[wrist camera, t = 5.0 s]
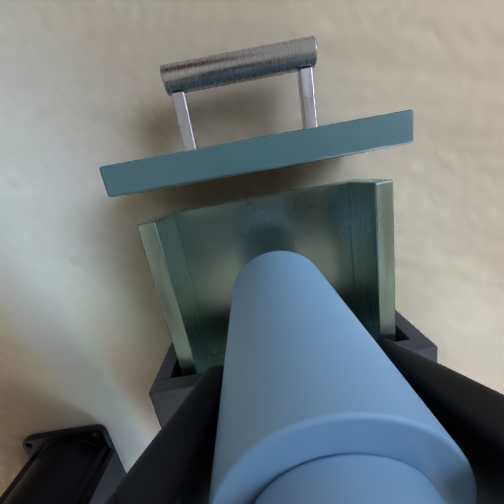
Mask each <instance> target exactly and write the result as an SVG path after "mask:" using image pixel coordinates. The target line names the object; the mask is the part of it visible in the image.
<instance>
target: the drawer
mask: <svg viewBox="0 0 504 504" xmlns="http://www.w3.org/2000/svg"><path fill="white" fill-rule="evenodd" d="M316 61H317V43H316V39H315V37H314V36H310V37H305V38H300V39H295V40H289V41H284V42H279V43H274V44H269V45H264V46H258V47H253V48H248V49H243V50H238V51H233V52H227V53H222V54H217V55H212V56H207V57H201V58H196V59H191V60H186V61H181V62H176V63H170V64H165V65H161V66H160V73H161V77H162V81H163V84H164V87H165V90H166V92H167V93H168V95H169V96H172V99H173V104H174V108H175V112H176V117H177V121H178V125H179V130H180V134H181V138H182V143H183V147H184V151H183V152H178V153H173V154H167V155H162V156H156V157H151V158H145V159H140V160H134V161H129V162H124V163H118V164H113V165H107V166H102V167H100V172H101V175H102V178H103V181H104V184H105V187H106V190H107V193H108V196H109V197H115V196H122V195H129V194H135V193H142V192H149V191H154V190H160V189H165V188H171V187H176V186H182V185H187V184H193V183H199V182H204V181H210V180H215V179H221V178H226V177H232V176H237V175H243V174H248V173H254V172H259V171H265V170H271V169H276V168H282V167H287V166H293V165H298V164H304V163H309V162H315V161H320V160H326V159H331V158H337V157H343V156H348V155H354V154H359V153H365V152H369V151H374V150H379V149H384V148H389V147H394V146H398V145H403V144H408V143H411V142H413V110H406V111H401V112H395V113H390V114H385V115H379V116H374V117H368V118H363V119H357V120H352V121H346V122H341V123H336V124H330V125H325V126H319V127H318V126H317V115H316V104H315V93H314V82H313V71H312V69H313V68H315V66H316ZM293 72H298V74H297V75H298V85H299V94H300V104H301V113H302V123H303V130H298V131H292V132H287V133H281V134H276V135H270V136H265V137H260V138H254V139H249V140H243V141H238V142H232V143H227V144H221V145H216V146H211V147H205V148H200V149H198V147H197V142H196V137H195V133H194V128H193V124H192V119H191V114H190V110H189V105H188V101H187V96H186V94H185V93H188V92H193V91H199V90H204V89H209V88H214V87H220V86H225V85H230V84H235V83H241V82H246V81H251V80H257V79H262V78H267V77H272V76H278V75H283V74H288V73H293ZM137 227H138V230H139V233H140V237H141V240H142V243H143V246H144V250H145V253H146V256H147V260H148V263H149V266H150V269H151V273H152V276H153V279H154V283H155V286H156V289H157V292H158V296H159V299H160V302H161V306H162V309H163V312H164V316H165V319H166V322H167V325H168V329H169V332H170V335H171V339H172V342H173V345H174V348H175V352H176V355H177V358H178V362H179V365H180V368H181V371H182V375H183V376H187V375H193V374H199V373H205V372H206V370H207V369H208V368H209V367H211V366H217V365H223V366H224V362H225V354H226V345H227V336H228V328H229V319H230V310H231V302H232V293H233V286H234V283H235V280H236V278H237V276H238V274H239V272H240V271H241V270H242V268H243V267H244V266H245V265H246V264H247V263H248V262H250V261H251V260H252V259H254V258H256V257H258V256H259V255H262V254H265V253H268V252H272V251H289V252H293V253H297V254H299V255H302V256H304V257H305V258H307V259H309V260H310V261H311V262H312V263H313V264H314V265H315V266H316V267H317V268H318V269H319V271H320V272H321V273H322V275H323V276H324V277H325V278H326V280H327V281H328V282H329V283H330V285H331V286H332V287H333V288H334V290H335V291H336V292H337V294H338V295H339V296H340V297H341V299H342V300H343V301H344V302H345V304H346V305H347V306H348V307H349V309H350V310H351V311H352V312H353V314H354V315H355V316H356V318H357V319H358V320H359V321H360V323H361V324H362V325H363V326H364V328H365V329H366V330H367V331H368V333H369V334H370V335H371V337H372V338H373V339H374V340H377V339H383V338H387V339H389V340H391V341H394V342H395V277H394V211H393V180H383V179H352V180H347V181H341V182H336V183H330V184H324V185H319V186H313V187H308V188H302V189H296V190H291V191H285V192H279V193H274V194H268V195H263V196H257V197H251V198H246V199H240V200H235V201H229V202H223V203H218V204H212V205H206V206H201V207H195V208H190V209H184V210H178V211H173V212H167V213H163V214H161V215H159V216H156V217H154V218H152V219H150V220H147V221H145V222H143V223H141V224H138V225H137Z"/></svg>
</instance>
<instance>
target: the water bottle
mask: <svg viewBox="0 0 504 504" xmlns="http://www.w3.org/2000/svg"><path fill="white" fill-rule="evenodd" d="M476 499H477V488H476V483H475V477H474V474H473V471H472V469H471V467H470V464H469V462H468V460H467V458H466V457H465V455H464V454H463V452H462V451H461V449H460V448H459V447H458V445H457V444H456V443H455V442H454V440H453V439H452V438H451V437H450V435H449V434H448V433H447V431H446V430H445V429H444V428H443V426H442V425H441V424H440V423H439V421H438V420H437V419H436V418H435V416H434V415H433V414H432V413H431V411H430V410H429V409H428V407H427V406H426V405H425V404H424V402H423V401H422V400H421V399H420V397H419V396H418V395H417V394H416V392H415V391H414V390H413V388H412V387H411V386H410V385H409V383H408V382H407V381H406V380H405V378H404V377H403V376H402V375H401V373H400V372H399V371H398V369H397V368H396V367H395V366H394V364H393V363H392V362H391V361H390V359H389V358H388V357H387V356H386V354H385V353H384V352H383V350H382V349H381V348H380V347H379V345H378V344H377V343H376V342H375V340H374V339H373V338H372V337H371V335H370V334H369V333H368V331H367V330H366V329H365V328H364V326H363V325H362V324H361V323H360V321H359V320H358V319H357V318H356V316H355V315H354V314H353V312H352V311H351V310H350V309H349V307H348V306H347V305H346V304H345V302H344V301H343V300H342V299H341V297H340V296H339V295H338V294H337V292H336V291H335V290H334V288H333V287H332V286H331V285H330V283H329V282H328V281H327V280H326V278H325V277H324V276H323V275H322V273H321V272H320V271H319V269H318V268H317V267H316V266H315V265H314V264H313V263H312V262H311V261H310V260H309V259H307V258H305V257H304V256H302V255H299V254H297V253H293V252H289V251H272V252H268V253H265V254H262V255H259V256H258V257H256V258H254V259H252V260H251V261H250V262H248V263H247V264H246V265H245V266H244V267H243V268H242V270H241V271H240V272H239V274H238V276H237V278H236V280H235V283H234V286H233V293H232V302H231V310H230V319H229V328H228V336H227V345H226V354H225V362H224V371H223V380H222V389H221V397H220V406H219V415H218V423H217V432H216V441H215V449H214V458H213V467H212V476H211V484H210V493H209V502H208V504H476Z"/></svg>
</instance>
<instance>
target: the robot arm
mask: <svg viewBox="0 0 504 504" xmlns="http://www.w3.org/2000/svg"><path fill="white" fill-rule="evenodd" d="M375 342H376V343H377V344H378V345H379V347H380V348H381V349H382V350H383V352H384V353H385V354H386V356H387V357H388V358H389V359H390V361H391V362H392V363H393V364H394V366H395V367H396V368H397V369H398V371H399V372H400V373H401V375H402V376H403V377H404V378H405V380H406V381H407V382H408V383H409V385H410V386H411V387H412V388H413V390H414V391H415V392H416V394H417V395H418V396H419V397H420V399H421V400H422V401H423V402H424V404H425V405H426V406H427V407H428V409H429V410H430V411H431V413H432V414H433V415H434V416H435V418H436V419H437V420H438V421H439V423H440V424H441V425H442V426H443V428H444V429H445V430H446V431H447V433H448V434H449V435H450V437H451V438H452V439H453V440H454V442H455V443H456V444H457V445H458V447H459V448H460V449H461V451H462V452H463V454H464V455H465V457H466V458H467V460H468V462H469V464H470V467H471V469H472V471H473V474H474V477H475V483H476V488H477V499H476V504H504V395H503V394H501V393H499V392H497V391H495V390H492V389H490V388H488V387H486V386H484V385H482V384H480V383H478V382H476V381H474V380H472V379H470V378H468V377H466V376H464V375H462V374H459V373H457V372H455V371H453V370H451V369H449V368H447V367H445V366H443V365H441V364H439V363H437V362H435V361H433V360H431V359H429V358H427V357H424V356H422V355H420V354H418V353H416V352H414V351H412V350H410V349H408V348H406V347H404V346H402V345H400V344H398V343H396V342H394V341H391V340H389V339H387V338H383V339H377V340H375ZM223 371H224V366H223V365H217V366H211V367H209V368H208V369H207V370H206V372H205V373H204V374H203V376H202V377H201V378H200V379H199V381H198V382H197V383H196V385H195V386H194V387H193V389H192V390H191V391H190V392H189V394H188V395H187V396H186V398H185V399H184V400H183V401H182V403H181V404H180V405H179V407H178V408H177V409H176V411H175V412H174V413H173V414H172V416H171V417H170V418H169V420H168V421H167V422H166V424H165V425H164V426H163V427H162V429H161V430H160V431H159V433H158V434H157V435H156V436H155V438H154V439H153V440H152V442H151V443H150V444H149V446H148V447H147V448H146V449H145V451H144V452H143V453H142V455H141V456H140V457H139V459H138V460H137V461H136V462H135V464H134V465H133V466H132V468H131V469H130V470H129V471H128V473H127V474H126V472H125V470H124V468H123V466H122V463H121V461H120V459H119V456H118V454H117V452H116V450H115V447H114V445H113V443H112V441H111V438H110V436H109V434H108V431H107V429H106V428H105V427H104V426H102V425H96V426H89V427H83V428H77V429H70V430H64V431H58V432H51V433H45V434H39V435H32V436H28V437H27V438H26V440H25V441H24V442H23V444H22V445H23V448H24V449H25V451H26V453H27V455H28V456H29V458H30V459H29V461H28V462H27V463H26V465H25V466H24V467H23V468H22V470H21V471H20V472H19V474H18V475H17V476H16V478H15V479H14V480H13V482H12V483H11V484H10V485H9V487H8V488H7V489H6V491H5V492H4V493H3V495H2V496H1V497H0V504H208V502H209V493H210V484H211V476H212V467H213V458H214V449H215V441H216V432H217V423H218V415H219V406H220V397H221V389H222V380H223Z"/></svg>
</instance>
